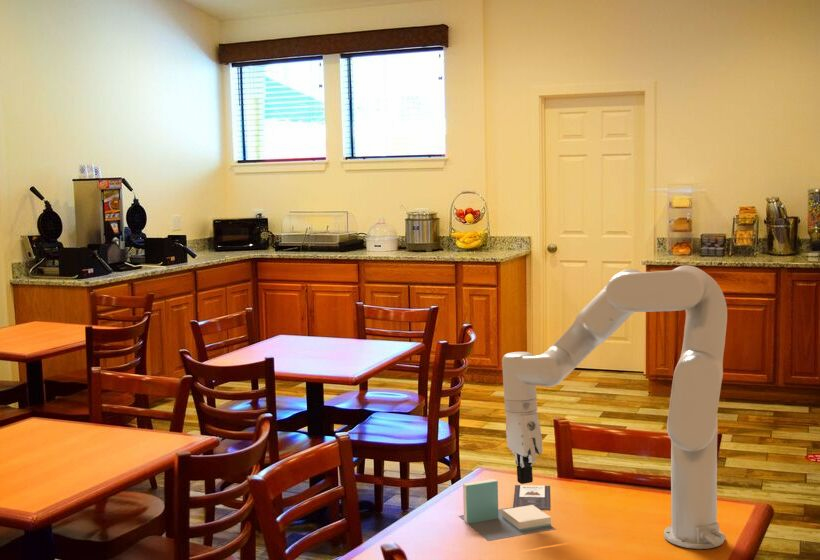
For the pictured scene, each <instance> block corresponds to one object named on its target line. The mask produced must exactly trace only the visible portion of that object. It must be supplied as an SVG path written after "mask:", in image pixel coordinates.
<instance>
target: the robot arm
mask: <svg viewBox="0 0 820 560" xmlns="http://www.w3.org/2000/svg"><path fill="white" fill-rule="evenodd" d="M727 306H728V305H727V302H726V297H725V294H724V293H723V290H722V289H721V287H720V285H719V284H718V283H717V281H716V280H715V279H714V278H713V277H712V276H711V275H710V274H708V273H706V272H705V271H704V270H702V269H700V268H699V267H696V266H695V265H689V264H688V265H687V264H685V265H680V266H678V267H675V268H673V269H672V270H671V269H669V270H659V271H640V270H638V269H635V268H625V269H623V270H621V271H619V272H617V273H616V274H614V275H613V276H612V277H611V278H610V279H609V281H608V282H607V284H606V285H605V286H604V287H603V288H602V289H601V290H599V292H598V293H597V294H596V295H595V296H594V297H593V298H592V299H591V300H590V301H589V302H588V303H587V304H586V305H585V306H584V307H583V308H582V309H581V310H580V311H579V312H578V313H577V315H576V317H575V319H574V321H573V322H572V324H571V326H570V327H569V328H568V329H567V330H566V331H565V332H564V333H563V334H562V335H561V336H560V337H559V338H558V339H557V340H556V341H555V342H554V343H553V344H552V345H551V346H550V347H549V348H548V349H547V350H546V351H544V352H543V353H540V354H538V355H534V354H532V353H531V352H529V351H514V352H513V351H511V352H507V353H505V354H504V355H503V357H502V359H501V362H502V363H501V367H502V381H503V385H502V386H503V397H504V398H503V400H504V403H503V404H504V413H505V416H506V417H505V435H506V437H505V438H506V445H507V449H509V450H510V451H511V453H512V454H513V456H514V461H515V466H516V477H517V483H519V485H524V484H525V485H527V484H530V483H533V482H534V480H533V479H534V477H533V466H534V465H533V464H534V463H537V455H543V450H544V449H543V448H544V447H543V439H542V437H543V436H542V429H541V428H542V427H541V424H540V418H539V413H538V400H537V399H538V398H537V395H538V394H537V386H539V387H546V388H552V387H555V386H557V385H559V384H560V383H561V382H562V381H564V379H566V377H568V376H569V375H570V373H572V372H573V371H574V370H575V369H576V368H577V366H579V365H580V364H581V362H582V361H584V359H585V358H587V357H588V355H590V354H591V353H592V352H593V351H594V350H595V349H596V348H597V347H599V346H600V345H603V344H604V342H606V341H607V340H608V339H609V338H610V337H612V335H613V334H614V333H615V332H616V331H617V330H618V329H619V328H620V327H621V326H622V325H624V323H625V322H626V321H627V320H628V319H629V318H630V317H631V316H632V315H633V314H635V313H648V312H649V313H650V312H653V313H654V312H677V311H678V312H679V311H685V321H684V322H685V323H684V330H683V340H682V348H681V353H680V357H679V359H678V362H677V364H676V366H675V368H674V371H673V378H672V383H671V388H670V389H671V390H670V397H669V398H670V399H669V407H668V412H667V413H668V414H667V422H666V431H667V435H668V437H669V439H670V444H671V446H670V447H671V448H670V487H671V488H670V501H671V502H670V504H671V505H670V508H671V509H670V510H671V511H670V512H671V513H670V516H671V517H670V520H671V521H670V522H671V525H669V526H667V527H665V529H664V531H663V537H664V538H665V540H666V541H668V542H669V543H671V544H673V545H675V546H678V547H682V548H687V549H693V550H694V549H695V550H707V549H713V548H717V547H720V546H721V545H723V544H724V543H725V540H726V539H727V538H726V535H725V534H724V533H723V532H722V530H720V523H718V518H717V516H718V507H717V505H718V498H717V497H718V494H717V493H718V488H717V487H718V486H717V485H718V482H717V481H718V429H719V428H718V427H719V426H718V423H719V422H718V411H719V403H720V395H721V389H722V382H723V377H724V368H723V366H724V364H723V363H724V352H725V346H726V333H727V326H728V325H727V324H728V307H727Z"/></svg>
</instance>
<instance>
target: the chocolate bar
mask: <svg viewBox="0 0 820 560" xmlns="http://www.w3.org/2000/svg"><path fill="white" fill-rule="evenodd" d="M529 505H534V506H535V507H537V508H538V509H540V510H541V511H551V486H550V485H533V484H532V485H530V484H529V485H527V484H525V485H524V484H515V485H514V495H513V505H512V507H513V508H516V507H522V506H529Z"/></svg>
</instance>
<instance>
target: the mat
mask: <svg viewBox="0 0 820 560" xmlns="http://www.w3.org/2000/svg"><path fill="white" fill-rule="evenodd" d="M510 508H513V506H511V507H505V508H498V519H492V520H486V521H480V522H474V523H466V525H468V526H470V527H471V528H472V529H473V530H474V531H476V533H478V534H479V535H480V536H482V537H483V539H485V540H486V541H487V542H490V541H491V542H492V541H496V540H501V539H507V538H514V537H519V536H523V535H524V536H525V535H526V536H527V535H530V534H531V535H532V534H536V533H542V532H547V531H548V532H549V531H553V530H556V528H555V527H554V526H553V525H551V526H545V527H540V528H534V529H528V530H522V531H519V530H518V529H517V528H515V527H514V526H513V525H511V524H510V523H509V522H507V521H506V520H505V519H503V516H502V510H504V509H510ZM458 517H459V518H460V519H461V520H463V521H464V514H462V515H458Z"/></svg>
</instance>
